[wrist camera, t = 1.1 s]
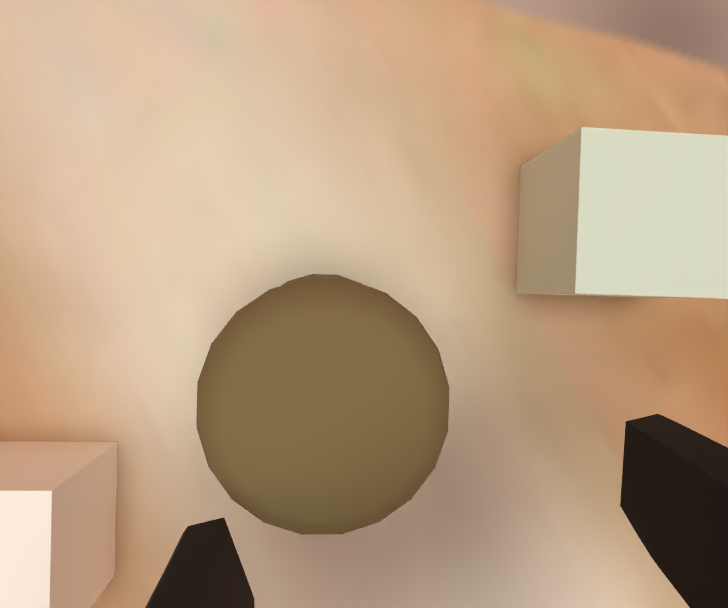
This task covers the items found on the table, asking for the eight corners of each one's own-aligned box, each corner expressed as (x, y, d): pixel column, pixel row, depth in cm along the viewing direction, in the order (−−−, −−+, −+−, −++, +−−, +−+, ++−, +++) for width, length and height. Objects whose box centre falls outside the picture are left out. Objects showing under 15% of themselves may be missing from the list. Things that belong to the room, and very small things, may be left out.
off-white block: (115, 574, 20) (48, 666, 15) (-26, 575, 20) (-143, 671, 15) (118, 441, 20) (52, 490, 15) (-23, 440, 20) (-140, 490, 15)
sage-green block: (636, 297, 22) (730, 298, 17) (515, 293, 21) (575, 293, 16) (640, 173, 21) (738, 136, 16) (519, 166, 21) (581, 127, 16)
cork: (215, 315, 20) (90, 342, 9) (360, 247, 21) (407, 195, 10) (284, 458, 20) (244, 649, 9) (426, 389, 21) (544, 495, 10)
